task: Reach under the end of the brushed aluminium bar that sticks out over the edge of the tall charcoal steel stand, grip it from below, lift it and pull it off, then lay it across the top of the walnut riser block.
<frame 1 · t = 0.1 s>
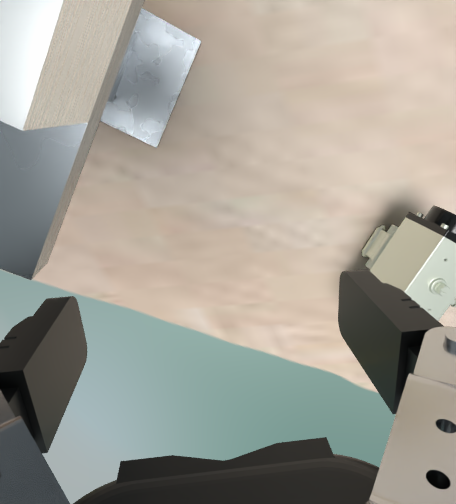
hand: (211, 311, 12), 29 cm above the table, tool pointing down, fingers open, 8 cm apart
steel stand: (96, 54, 35), on the table
mini surveillance camera: (382, 245, 44), on the table
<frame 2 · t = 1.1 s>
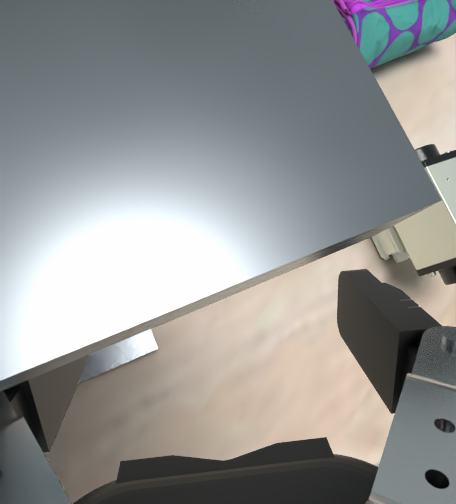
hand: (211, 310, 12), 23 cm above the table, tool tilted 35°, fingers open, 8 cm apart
pencil case: (361, 52, 49), on the table
steel stand: (39, 331, 31), on the table
mini surveillance camera: (387, 240, 42), on the table
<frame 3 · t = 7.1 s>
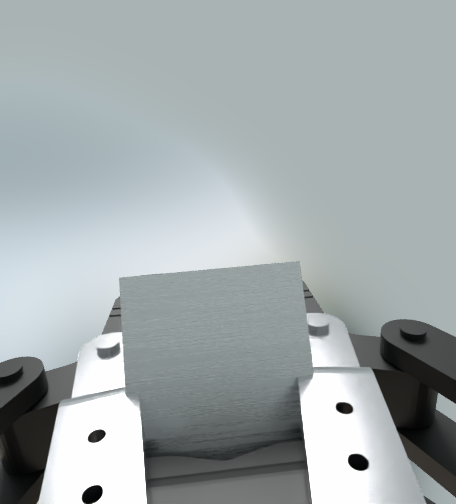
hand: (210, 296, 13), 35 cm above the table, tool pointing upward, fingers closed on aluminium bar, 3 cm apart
aluminium bar: (217, 365, 19), point 32 cm above the table, touching gripper, steel stand
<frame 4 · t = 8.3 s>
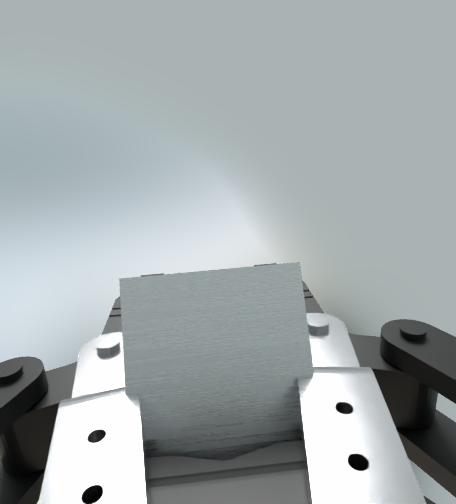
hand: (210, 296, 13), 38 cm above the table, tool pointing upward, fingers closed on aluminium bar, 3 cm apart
aluminium bar: (217, 366, 19), point 35 cm above the table, touching gripper
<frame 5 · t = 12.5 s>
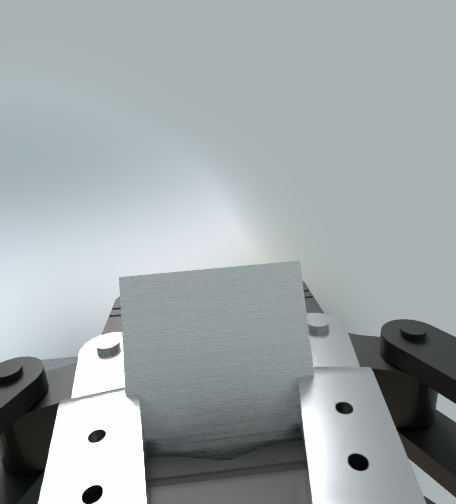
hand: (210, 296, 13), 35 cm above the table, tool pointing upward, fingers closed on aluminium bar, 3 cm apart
aluminium bar: (217, 365, 19), point 32 cm above the table, touching gripper
when the fingers open (26 cm above the table, at t = 14.3 s): aluminium bar drops 1 cm, resting on walnut riser.
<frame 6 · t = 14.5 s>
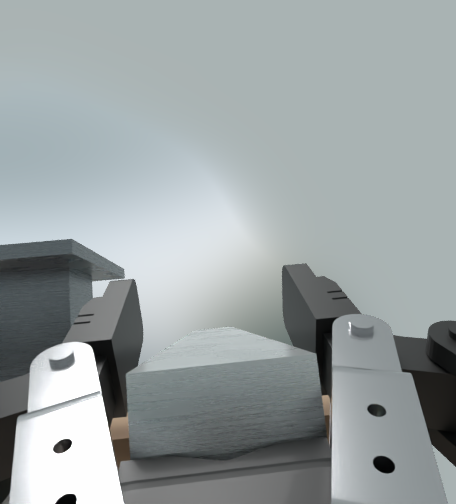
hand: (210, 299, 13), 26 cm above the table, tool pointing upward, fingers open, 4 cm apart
aluminium bar: (220, 399, 18), point 22 cm above the table, touching walnut riser
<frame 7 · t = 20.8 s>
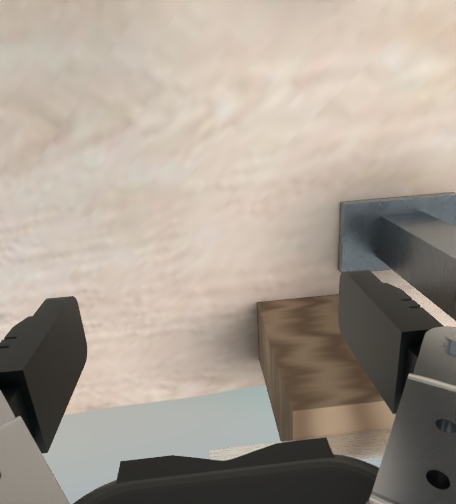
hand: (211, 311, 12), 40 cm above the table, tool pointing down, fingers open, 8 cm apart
aluminium bar: (342, 446, 39), point 22 cm above the table, touching walnut riser
steel stand: (394, 231, 55), on the table
walnut riser: (303, 327, 59), on the table
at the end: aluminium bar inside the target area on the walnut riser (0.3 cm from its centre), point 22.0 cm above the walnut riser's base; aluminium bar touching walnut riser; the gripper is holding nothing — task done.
